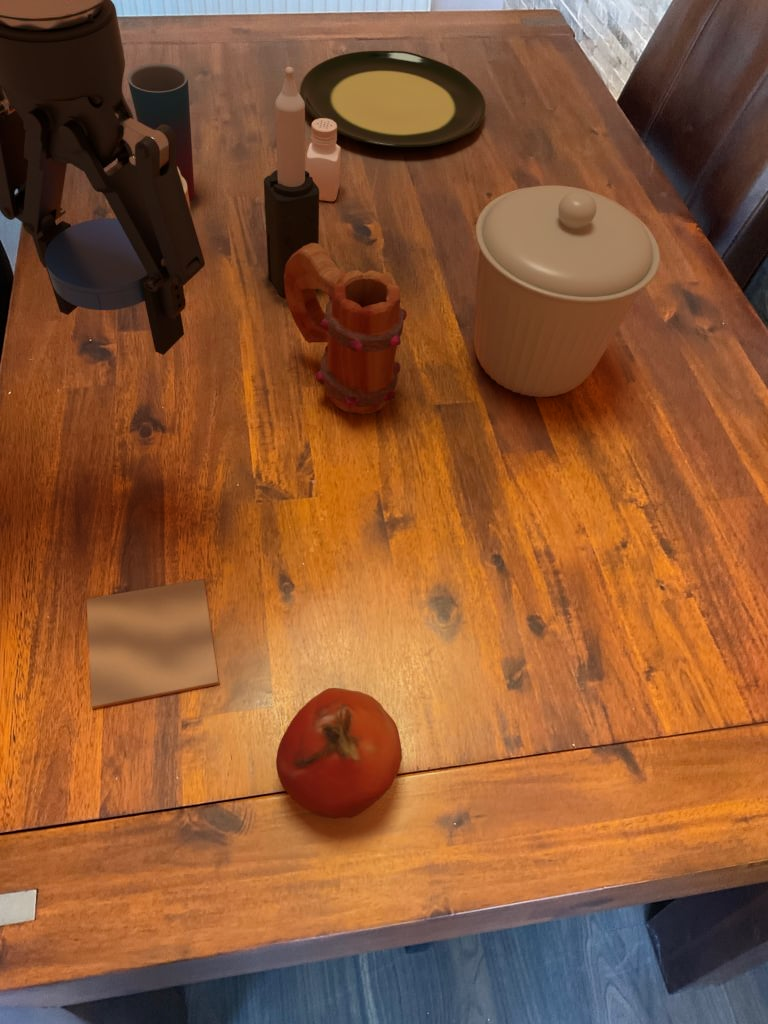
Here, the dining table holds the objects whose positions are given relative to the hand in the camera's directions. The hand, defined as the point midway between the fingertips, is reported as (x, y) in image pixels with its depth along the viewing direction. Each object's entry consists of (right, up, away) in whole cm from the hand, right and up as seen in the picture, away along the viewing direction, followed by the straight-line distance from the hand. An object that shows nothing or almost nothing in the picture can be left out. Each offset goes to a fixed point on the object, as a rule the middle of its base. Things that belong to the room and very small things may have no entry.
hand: (121, 322), depth 62 cm
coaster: (+1, -26, +5) cm, 26 cm away
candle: (+9, +13, +34) cm, 38 cm away
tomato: (+17, -35, +1) cm, 39 cm away
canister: (+37, +2, +29) cm, 47 cm away
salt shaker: (+12, +28, +46) cm, 55 cm away
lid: (0, +4, -5) cm, 6 cm away
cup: (-7, +27, +43) cm, 51 cm away
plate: (+22, +46, +60) cm, 79 cm away
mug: (+16, -1, +25) cm, 29 cm away
